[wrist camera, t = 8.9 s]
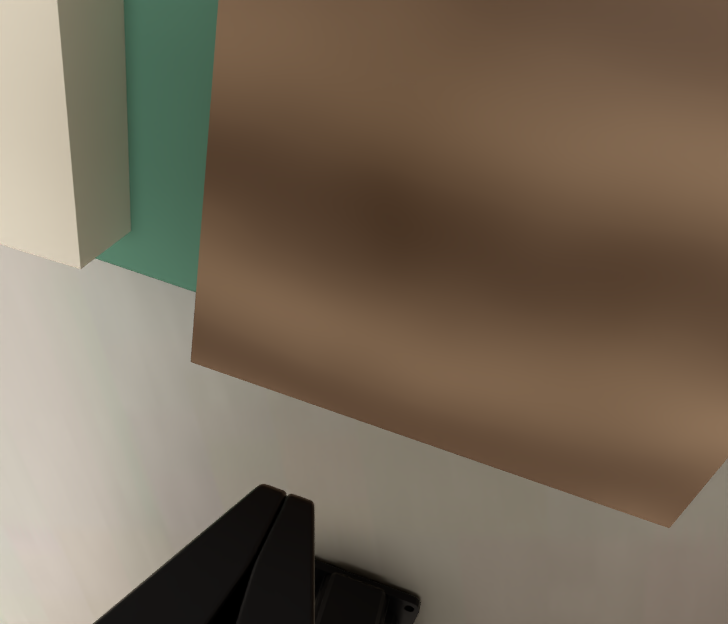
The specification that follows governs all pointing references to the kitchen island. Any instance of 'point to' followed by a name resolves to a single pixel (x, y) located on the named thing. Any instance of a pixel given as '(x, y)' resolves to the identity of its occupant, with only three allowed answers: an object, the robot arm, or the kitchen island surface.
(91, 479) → the kitchen island surface
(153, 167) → the mat
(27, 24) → the block
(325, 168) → the deck
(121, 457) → the kitchen island surface
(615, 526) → the kitchen island surface
